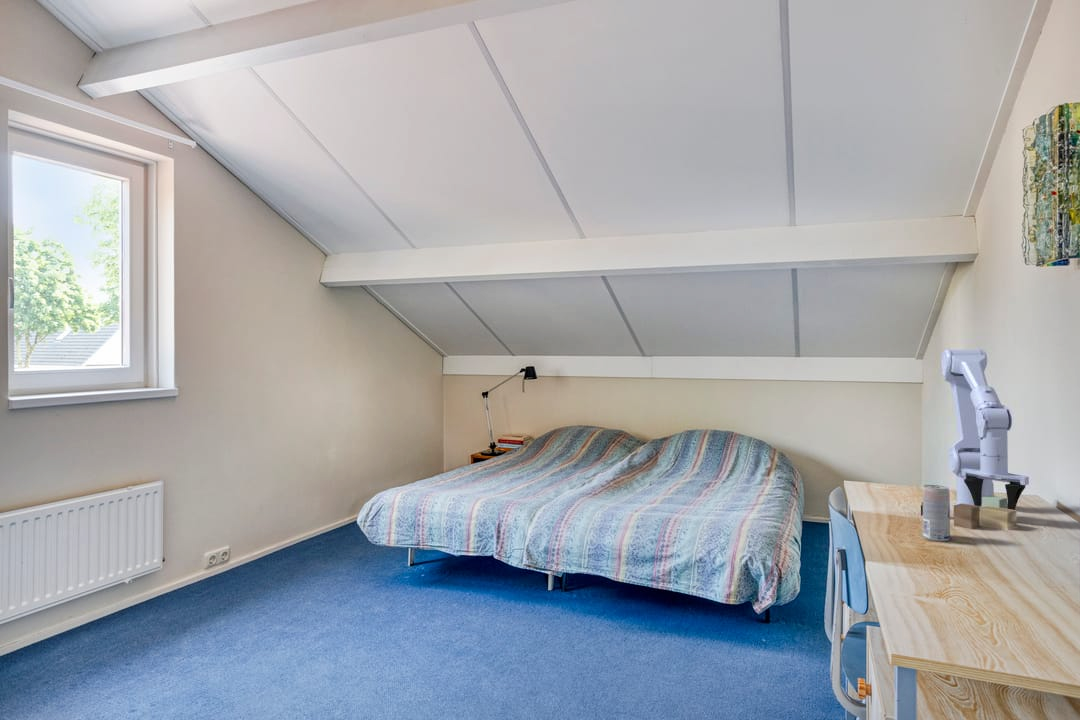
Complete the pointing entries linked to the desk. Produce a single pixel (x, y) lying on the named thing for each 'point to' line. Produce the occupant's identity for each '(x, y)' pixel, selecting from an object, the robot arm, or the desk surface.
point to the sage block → (994, 501)
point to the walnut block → (967, 516)
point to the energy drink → (936, 513)
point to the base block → (998, 517)
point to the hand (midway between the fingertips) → (994, 509)
